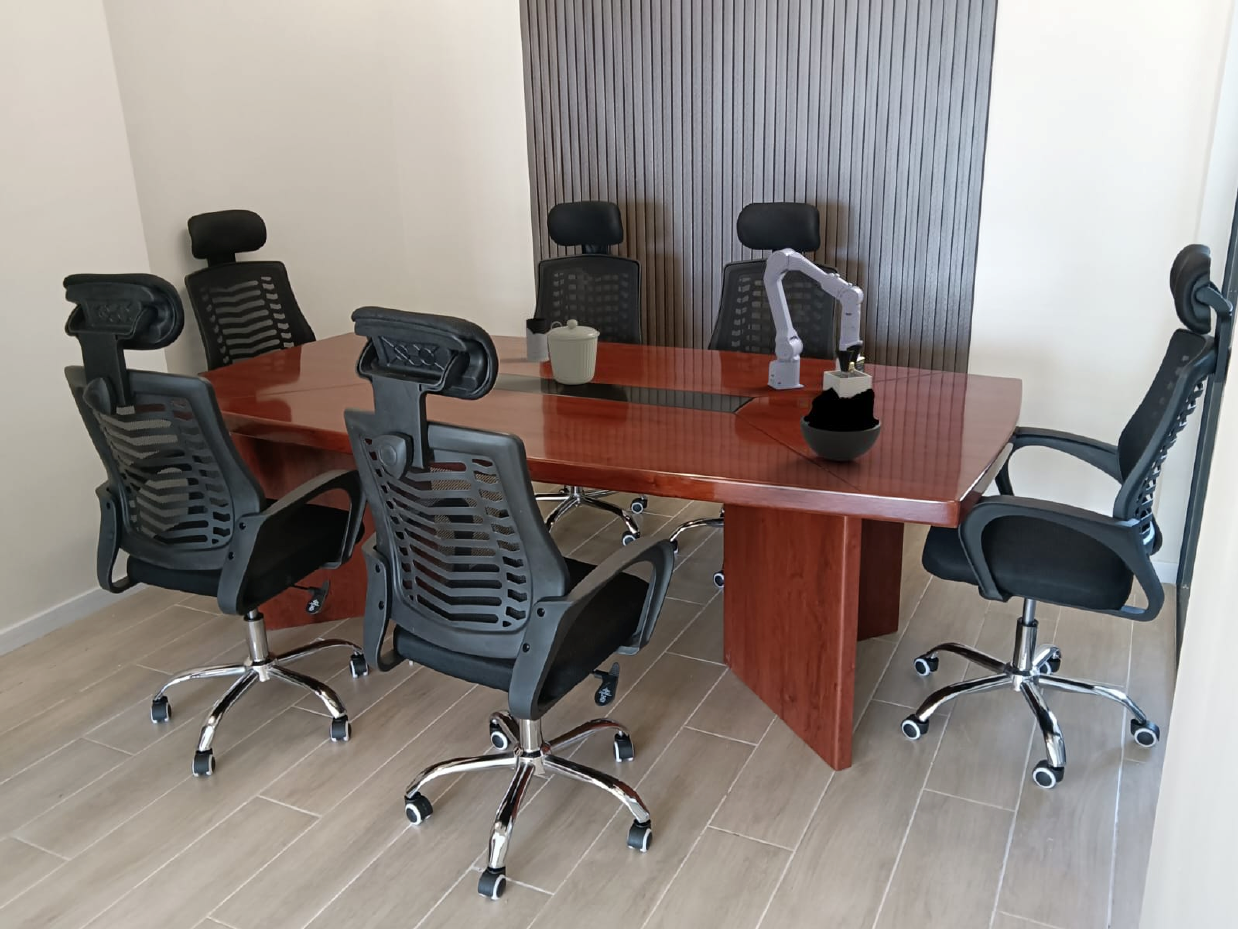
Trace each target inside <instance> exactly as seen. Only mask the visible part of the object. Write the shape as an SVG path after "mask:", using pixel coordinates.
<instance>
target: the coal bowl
mask: <svg viewBox="0 0 1238 929" xmlns="http://www.w3.org/2000/svg"><path fill="white" fill-rule="evenodd" d="M875 397H876V394H875V391H874V389H873V388H872V387H871V388H870V389H867V390H866V391H863V392H861V393H860V394H859V393H857V394H855V395H854V396H853V397H844V398H840V397H839V395H838V393H837V392H836V391H835V390H834V389H833V387H831V388H829V389H827V390H825V391H824V390H823V391H822V392H821V393H820V394H819V395H817V396H816V397H814V398H813V400H812V402H811V406H812V407H811V409H810V410H809V412H808V414H805V415H804V416H802V417H800V420H799V425H800V432H801V434H802V437H803V439H804V441H805V443H806V444H807V445H808V447H809V448H810V449H811V450H812V451H813V452H814V453H815V454H817V455H819V456H820V457H822V458H823V459H826V460H830V461H833V460H834V462H847V461H852V460H855V459H858V458H859V457H861V456H863V455H865V454H866V453H867V452H869V450H870V449H871V448H873V446H874V445H875V443H876V442H877V440H878V438H879V435H880V434H881V430H882V421H881V420H880V419H878V418H877V417H874V406H875Z"/></svg>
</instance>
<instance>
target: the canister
mask: <svg viewBox="0 0 1238 929" xmlns="http://www.w3.org/2000/svg"><path fill="white" fill-rule="evenodd" d="M600 334H601V333H600V331H597V330H596V329H595V328H593V327H589V326H583V325H582V326H581V325H579V324H578V321H577V320H576V319H569V320H567V322H566V326H562V327H561V326H560V327H559V326H558V327H555V328H552V330H551V329H550V330H549V331H548V332H547V333H546V334H545V335H546V337H547V338H548V350H549V359H550V364H551V368H552V375H553V378H554V380H555V381H556V382H557V383H559V384H561V385H562V384H564V385H582V384H586V383H589V382H591V381H592V379H593V378H594V375H595V369H596V359H597V350H598V349H597V347H598V337H599V336H600Z"/></svg>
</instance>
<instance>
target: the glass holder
mask: <svg viewBox="0 0 1238 929" xmlns="http://www.w3.org/2000/svg"><path fill="white" fill-rule="evenodd" d="M556 323H557V324H559V325H560V327H563V324H562V323H561V322H559V321H554V322H553V323H551V325H550V330H552V329H553V325H555V324H556ZM525 325H526V326H525V339H526V358H525V361H527V362H530V363H545V362H548V361H550V356H549V355H550V351H549V345H548V338H547V337H546V335H545V334H546V333H547V330H548V329H547V326H548V325H547V318H542V317H533V318H526V319H525Z"/></svg>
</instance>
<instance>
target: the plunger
mask: <svg viewBox="0 0 1238 929" xmlns="http://www.w3.org/2000/svg"><path fill="white" fill-rule="evenodd" d="M853 371H854V362H852V361H850V365H849V370H848V372H846V374H842V375H834V376H836V377H839V378H841V379H842V378H854V377H860V376H858V375H856V374H849V372H853Z"/></svg>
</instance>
